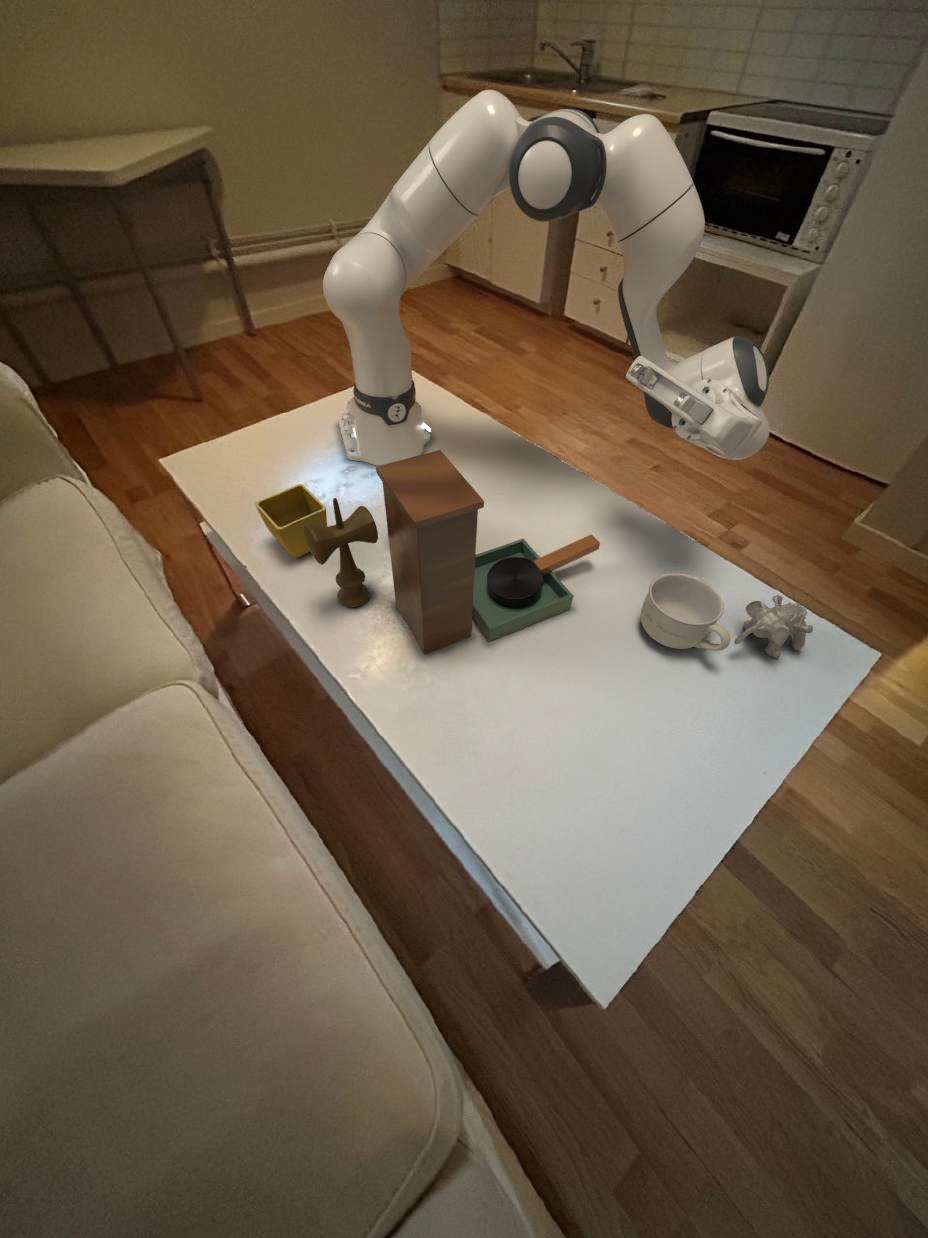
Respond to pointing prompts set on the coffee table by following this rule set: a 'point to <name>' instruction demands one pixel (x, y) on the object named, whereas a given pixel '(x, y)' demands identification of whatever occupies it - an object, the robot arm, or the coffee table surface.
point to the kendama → (344, 550)
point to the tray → (507, 620)
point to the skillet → (531, 573)
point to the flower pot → (292, 517)
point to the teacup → (683, 612)
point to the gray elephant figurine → (776, 624)
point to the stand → (432, 546)
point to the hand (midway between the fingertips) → (656, 383)
